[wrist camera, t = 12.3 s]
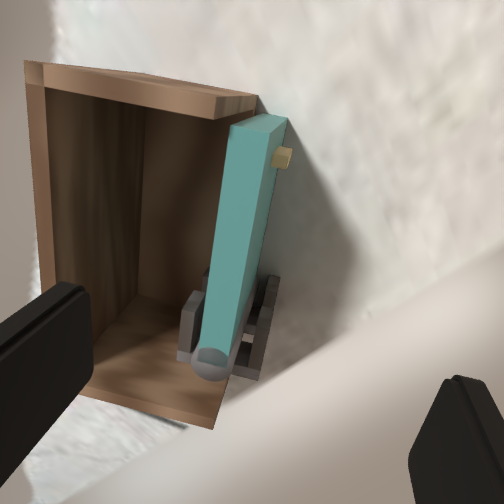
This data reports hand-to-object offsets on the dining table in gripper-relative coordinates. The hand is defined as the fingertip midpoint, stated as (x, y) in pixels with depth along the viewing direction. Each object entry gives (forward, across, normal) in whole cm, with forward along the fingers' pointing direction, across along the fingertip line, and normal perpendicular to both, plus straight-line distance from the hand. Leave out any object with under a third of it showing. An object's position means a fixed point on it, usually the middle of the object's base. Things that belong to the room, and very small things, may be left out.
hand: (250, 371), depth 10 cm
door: (+23, +3, +4) cm, 24 cm away
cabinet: (+23, +8, +5) cm, 25 cm away
